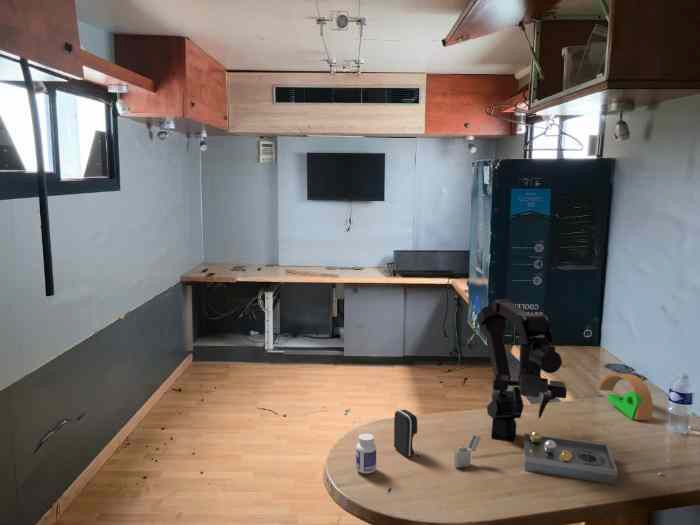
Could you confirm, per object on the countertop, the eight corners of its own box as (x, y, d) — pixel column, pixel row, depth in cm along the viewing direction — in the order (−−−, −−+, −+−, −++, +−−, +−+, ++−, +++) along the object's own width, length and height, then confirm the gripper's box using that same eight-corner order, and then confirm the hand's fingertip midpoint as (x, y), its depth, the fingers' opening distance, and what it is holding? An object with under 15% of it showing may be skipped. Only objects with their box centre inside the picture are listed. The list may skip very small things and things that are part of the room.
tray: (524, 470, 140) (525, 457, 139) (523, 445, 154) (524, 433, 153) (616, 485, 133) (617, 471, 133) (606, 457, 148) (607, 444, 147)
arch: (611, 389, 190) (620, 364, 187) (651, 420, 171) (660, 393, 168) (597, 388, 189) (605, 362, 186) (635, 419, 170) (645, 391, 167)
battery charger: (418, 454, 147) (419, 415, 146) (407, 457, 145) (408, 418, 144) (403, 444, 153) (404, 406, 152) (392, 447, 152) (393, 409, 150)
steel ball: (543, 454, 143) (544, 442, 143) (542, 448, 147) (543, 436, 146) (556, 456, 142) (557, 444, 142) (555, 450, 146) (556, 438, 145)
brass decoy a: (529, 444, 149) (530, 432, 149) (529, 438, 152) (529, 427, 152) (542, 446, 148) (542, 434, 148) (541, 440, 151) (542, 429, 151)
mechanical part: (647, 420, 172) (654, 398, 170) (631, 419, 171) (639, 397, 169) (622, 400, 184) (629, 379, 182) (607, 399, 182) (614, 378, 180)
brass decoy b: (558, 465, 138) (559, 452, 137) (557, 459, 141) (558, 447, 141) (572, 467, 137) (573, 454, 136) (571, 461, 140) (572, 448, 140)
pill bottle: (378, 466, 141) (379, 434, 140) (371, 475, 136) (372, 443, 135) (360, 462, 143) (361, 430, 142) (352, 471, 138) (353, 438, 137)
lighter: (457, 468, 140) (458, 439, 139) (453, 465, 142) (455, 436, 141) (479, 463, 143) (481, 435, 142) (476, 460, 145) (477, 432, 144)
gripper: (493, 366, 138) (490, 423, 140) (570, 374, 133) (566, 433, 135) (494, 354, 149) (492, 407, 151) (566, 361, 144) (562, 416, 146)
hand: (526, 415), depth 145 cm, fingers open, 6 cm apart
